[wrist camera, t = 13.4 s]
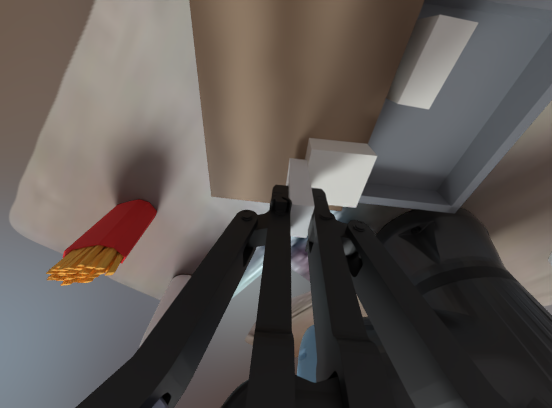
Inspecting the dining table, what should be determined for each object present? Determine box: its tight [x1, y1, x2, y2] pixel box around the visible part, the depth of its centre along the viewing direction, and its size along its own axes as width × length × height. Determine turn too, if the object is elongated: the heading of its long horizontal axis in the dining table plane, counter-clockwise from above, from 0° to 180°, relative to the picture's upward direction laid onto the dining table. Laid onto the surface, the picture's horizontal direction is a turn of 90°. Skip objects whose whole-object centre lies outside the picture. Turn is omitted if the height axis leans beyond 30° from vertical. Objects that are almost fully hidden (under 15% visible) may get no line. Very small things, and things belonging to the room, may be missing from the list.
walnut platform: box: [189, 0, 425, 211], centre depth 19 cm, size 14×18×6 cm
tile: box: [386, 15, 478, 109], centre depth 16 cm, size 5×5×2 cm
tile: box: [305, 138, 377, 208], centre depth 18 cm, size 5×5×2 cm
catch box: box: [358, 0, 552, 214], centre depth 20 cm, size 14×18×4 cm
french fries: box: [46, 199, 157, 285], centre depth 27 cm, size 8×4×12 cm, turn 107°
